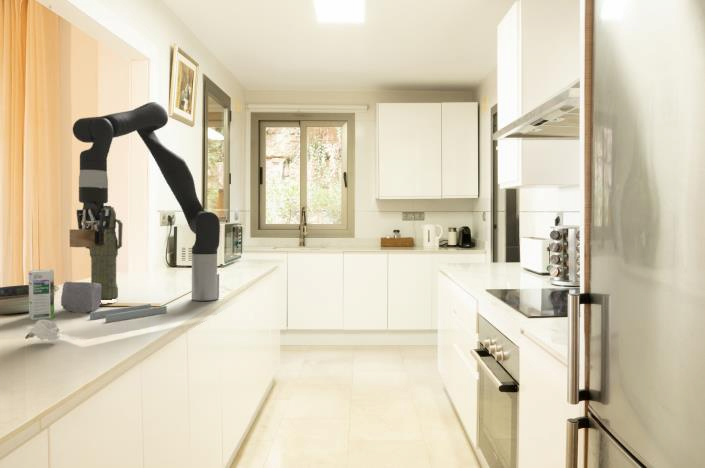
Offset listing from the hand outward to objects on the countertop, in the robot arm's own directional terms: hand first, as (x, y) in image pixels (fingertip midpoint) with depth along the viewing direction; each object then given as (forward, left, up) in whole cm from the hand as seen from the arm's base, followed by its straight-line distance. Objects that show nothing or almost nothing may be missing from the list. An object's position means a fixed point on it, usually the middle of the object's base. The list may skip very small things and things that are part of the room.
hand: (93, 244), depth 142 cm
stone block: (-6, -17, -23) cm, 29 cm away
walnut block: (+2, 0, -1) cm, 2 cm away
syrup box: (+6, -17, -23) cm, 29 cm away
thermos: (-19, -26, -23) cm, 39 cm away
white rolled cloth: (+20, +12, -23) cm, 32 cm away
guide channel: (-11, +1, -22) cm, 25 cm away
